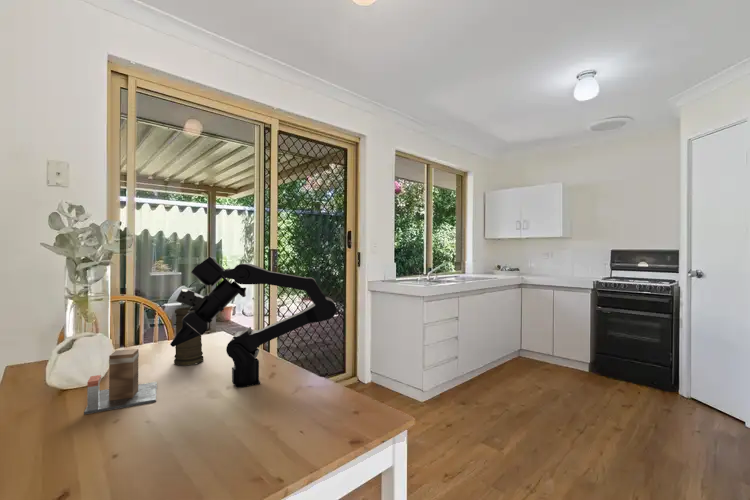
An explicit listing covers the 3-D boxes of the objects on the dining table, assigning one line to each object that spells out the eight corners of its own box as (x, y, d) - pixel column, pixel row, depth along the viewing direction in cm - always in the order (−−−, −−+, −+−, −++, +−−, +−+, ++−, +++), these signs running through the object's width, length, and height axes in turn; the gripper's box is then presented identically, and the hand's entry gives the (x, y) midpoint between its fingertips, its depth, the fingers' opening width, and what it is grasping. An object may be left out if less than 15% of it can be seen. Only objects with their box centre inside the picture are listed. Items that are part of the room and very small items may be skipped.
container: (195, 366, 117) (195, 310, 117) (167, 366, 117) (168, 310, 117) (208, 357, 126) (208, 306, 126) (183, 357, 126) (183, 306, 126)
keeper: (156, 383, 101) (156, 358, 101) (155, 401, 89) (155, 372, 89) (94, 393, 94) (94, 366, 94) (84, 414, 82) (84, 383, 82)
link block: (138, 390, 95) (138, 348, 95) (133, 397, 90) (133, 353, 90) (115, 392, 93) (115, 350, 93) (108, 400, 88) (108, 355, 88)
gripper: (199, 276, 107) (156, 315, 103) (193, 281, 90) (141, 328, 86) (227, 301, 110) (187, 340, 106) (227, 310, 93) (178, 358, 88)
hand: (174, 341), depth 96 cm, fingers open, 9 cm apart
